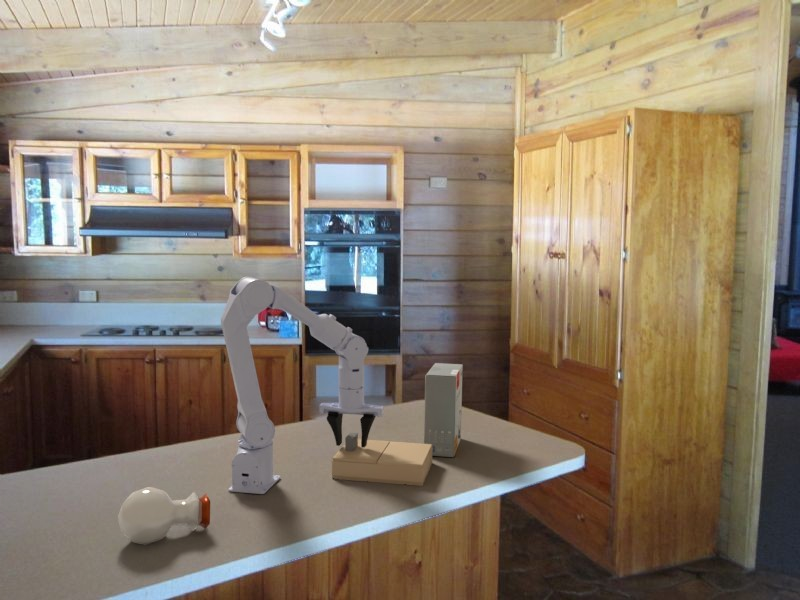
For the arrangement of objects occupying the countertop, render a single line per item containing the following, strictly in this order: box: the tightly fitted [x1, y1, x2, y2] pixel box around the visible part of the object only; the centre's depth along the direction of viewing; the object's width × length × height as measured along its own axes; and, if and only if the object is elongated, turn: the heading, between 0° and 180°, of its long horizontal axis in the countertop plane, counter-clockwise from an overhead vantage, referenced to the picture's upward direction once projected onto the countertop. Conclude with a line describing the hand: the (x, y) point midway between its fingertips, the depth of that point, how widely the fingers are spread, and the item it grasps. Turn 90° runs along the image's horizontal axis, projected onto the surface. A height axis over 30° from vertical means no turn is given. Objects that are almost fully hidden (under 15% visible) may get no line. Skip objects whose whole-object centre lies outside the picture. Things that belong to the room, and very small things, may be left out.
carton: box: [331, 440, 433, 487], centre depth 149 cm, size 14×20×5 cm
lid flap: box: [332, 432, 391, 464], centre depth 149 cm, size 14×10×4 cm
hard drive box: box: [423, 362, 464, 458], centre depth 164 cm, size 16×8×20 cm, turn 168°
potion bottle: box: [117, 486, 211, 546], centre depth 116 cm, size 9×10×15 cm
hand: (351, 445), depth 150 cm, fingers open, 5 cm apart
